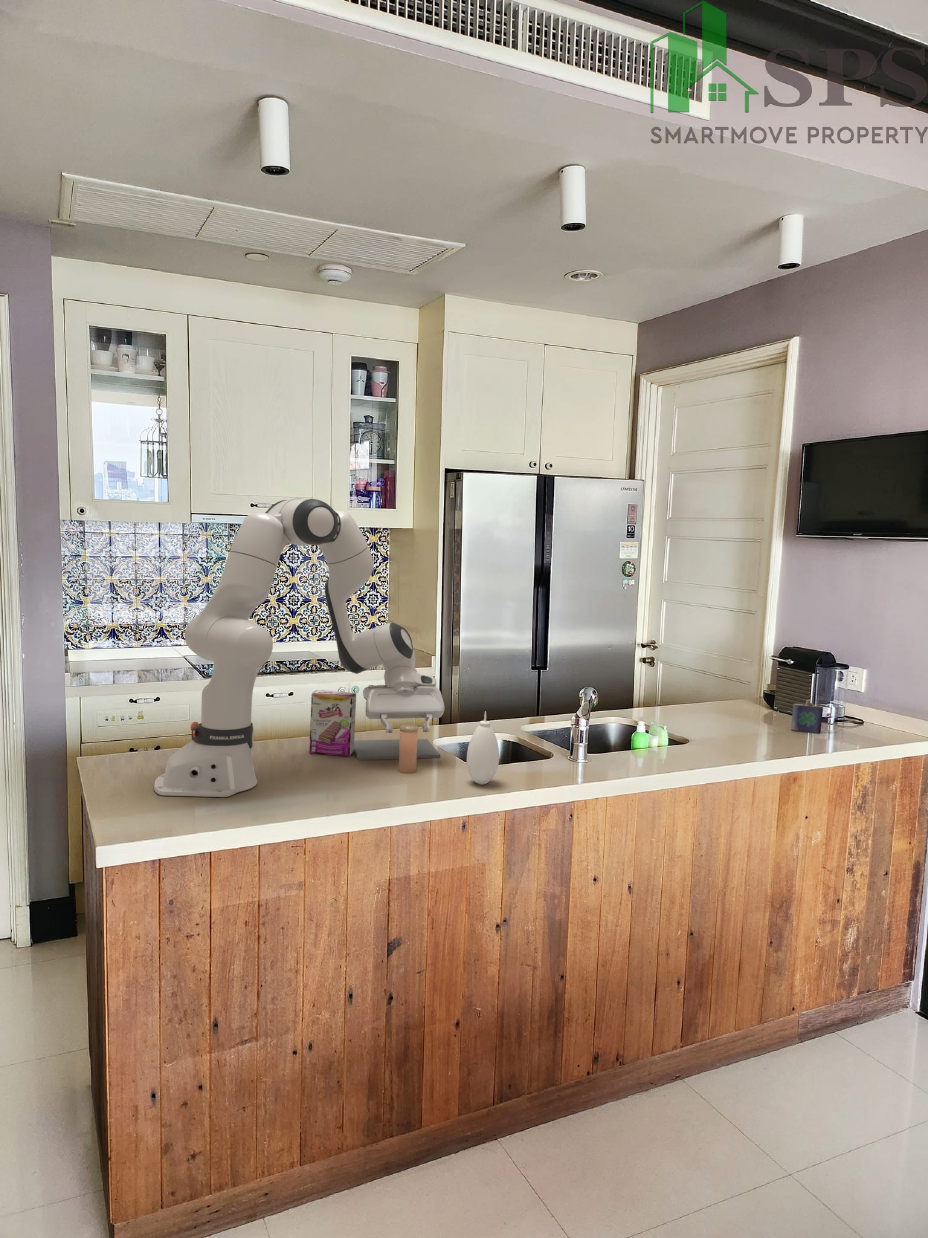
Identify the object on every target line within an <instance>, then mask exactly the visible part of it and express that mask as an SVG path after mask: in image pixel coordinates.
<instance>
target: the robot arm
mask: <svg viewBox="0 0 928 1238" xmlns="http://www.w3.org/2000/svg"><path fill="white" fill-rule="evenodd" d="M287 545H295V546H317V547H318V548H319V550H320V551H322V555H323V558H324V560H325V562H326V564H327V568H328V572H329V573H328V579H327V580H326V582H325V583H324V595H325V596H324V597H325V601H326V607H327V611H328V613H329V618H330V623H331V625H332V629H333V633H334V637H335V643H336V647H337V652H338V653H337V654H338V659H339V662H340V664H341V666H342V668H343V669H344V670H347V671H348V672H350V673H352V674H356V675H358V674H361V673H362V672H365V671H368V670H369V669H371V668H375V667H377V666H380V665H382V667H383V669H384V675H383V678H384V684H378V685H377V684H376V685H374V684H370V685H368V686H366V687H364V688H363V691H362V694H363V695H362V696H363V698H364V699H365V716H366V717H367V718H368V719H369V720H379V721H380V723H381V724H382V726H383V727H384V728H385V733H387V734H389V733H390V734H392V733H393V731H394V728H393V723H389V722H388V719H390V720H391V719H392V720H393V719H394V720H397V719H425V721H426V722H423V724H422V726H421V728H422V732H423V733H429V731H430V723H431V721H432V719H440V718H442V716H443V714H444V712H445V710H446V709H445V702H444V699H443V695H442V692H441V690H440V689H439V688H438V687H437V679H436V678H435V677H433V676H429V675H426V674H422V673H420V672H418V670H417V668H416V654H415V649H414V646H413V645H414V644H413V641H412V638H411V635H410V632H408V630H407V629H406V628H405V627H403V626H401V625H400V624H398V623H395V622H388V623H385V624H382V625H378V626H375V627H374V628H371V629H370V628H369V629H367V630H364V631H361V632H357V633H356V632H353V630H352V627H351V622H350V617H349V615H348V610H347V605H346V602H347V601H348V600H349V598H350V597H352V596H353V595H354V594H355V593H356V592H357V591H358V590H359V589H361V588H362V587H364V585H365V584H366V583H368V581H369V579H370V577H371V576H372V573H373V570H374V565H375V564H374V559H373V556H372V552H371V550H370V548H369V545H368V543H367V541H366V538H365V536H364V535H363V532H362V531H361V529H360V527H359V526H358V524H357V522H356V520H355V519H354V518H353V517H352V515H351V514H350V513H349V512H347V511H346V510H341V509H334V508H333V507H332V506H330V505H329V504H328V503H326V502H325V501H323V500H320V499H318V498H317V499H316V498H302V497H301V498H298V497H297V498H296V497H295V498H289V499H282V500H279V501H277V502H275V503H273V504H272V505H271V506H269V507H268V509H267V510H266V511H265V512H262V511H259V512H258V511H257V512H252V513H250V514H248V515H247V516H245V518H244V520H243V521H242V523H241V525H240V527H239V529H238V530H237V533H236V535H235V536H234V540H233V542H232V544H231V547H230V551H229V554H228V556H227V559H226V561H225V562H226V563H225V565H224V568H223V571H222V574H221V577H220V580H219V583H218V585H217V587H216V589H215V591H214V592H213V594H212V595H211V597H210V598H209V600H208V602H207V603H206V605H205V606H204V608H203V609H202V611H200V613H199V614H197V615H196V616H195V617H193V618H191V620H190V621H189V622H188V623H187V626H186V628H185V631H184V640H185V643H186V646H187V647H188V648H189V650H190V651H191V652H192V653H194V654H195V655H197V656H198V657H200V658H201V659H203V660H206V661H209V662H210V661H211V662H213V671H212V674H211V677H210V680H209V682H208V684H207V685H205V686H204V687H203V689H202V691H201V715H200V716H201V718H200V719H201V721H200V723H199V722H198V721H193V722H192V723H191V724H190V731H191V740H190V741H189V742H188V743H186V744H184V745H183V746H182V747H181V748H180V749H178V750H177V751H175V752H174V753H173V754H171V756H170V757H169V758H168V761H167V762H166V765H165V769H164V773H162V774H161V775H159V776H158V777H157V778H156V779H155V781H154V785H153V789H154V791H155V793H156V794H158V795H159V796H170V797H171V796H173V797H175V796H176V797H177V796H178V797H211V798H212V797H215V798H216V797H217V798H218V797H219V798H226V797H227V798H228V797H231V796H233V795H235V794H238V793H240V792H245V791H246V790H250V789H252V788H254V787H255V786H256V785H257V784H258V780H257V777H256V773H255V772H256V771H255V767H254V759H253V750H252V749H253V747H254V746H253V745H254V732H255V731H254V724H253V722H252V710H253V709H252V708H253V707H252V706H253V692H254V687H255V682H256V680H257V676H258V673H259V672H260V669H261V668H262V667H263V666H264V665H265V664H266V663H267V662H268V661H269V659H270V657H271V656H272V653H273V650H274V644H273V643H274V642H273V637H272V636H271V633H270V632H269V631H268V630H267V629H266V628H265V627H263V626H262V625H260V624H259V623H256V622H254V621H252V620H249V619H250V617H251V615H252V614H253V613H254V611H255V610H256V609H257V607H258V606H260V605H261V604H263V603H264V602H265V601H266V600H267V599H268V597H269V594H270V590H271V588H272V584H273V581H274V578H275V575H276V573H277V568H278V564H279V562H280V558H281V554H282V552H283V550H284V549H285V547H286V546H287Z"/></svg>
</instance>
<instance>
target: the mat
mask: <svg viewBox="0 0 928 1238" xmlns="http://www.w3.org/2000/svg"><path fill="white" fill-rule="evenodd" d="M399 742H400V738H399V739H365V740H364V739H361V740H359V739H357V740H355V739H354V752H355V753H354V752H353V753H354V755H355V757H356V759H357V761H368V760H369V761H370V760H371V761H372V760H373V761H375V760H377V761H378V760H399ZM440 758H441V754H440V752H439V751H438V750H437V749H436V747H434V745H433V744H432V743H431V742H430V740H429V739H428V738H418V741H417V759H440Z"/></svg>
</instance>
